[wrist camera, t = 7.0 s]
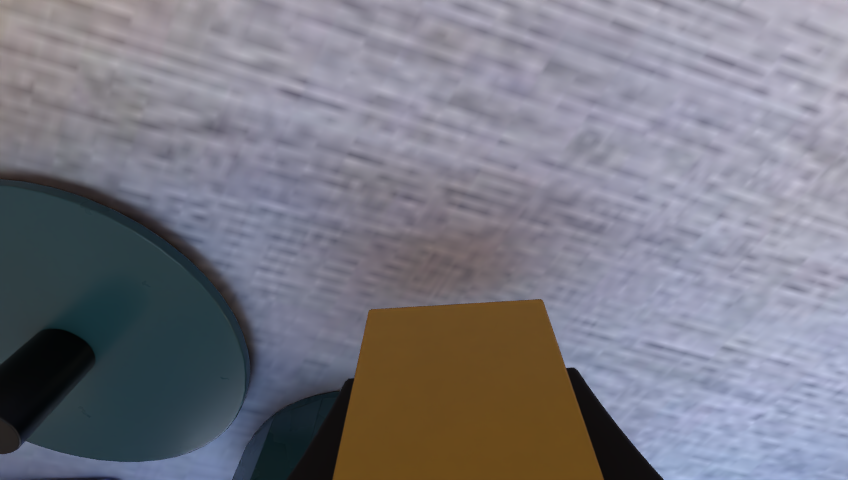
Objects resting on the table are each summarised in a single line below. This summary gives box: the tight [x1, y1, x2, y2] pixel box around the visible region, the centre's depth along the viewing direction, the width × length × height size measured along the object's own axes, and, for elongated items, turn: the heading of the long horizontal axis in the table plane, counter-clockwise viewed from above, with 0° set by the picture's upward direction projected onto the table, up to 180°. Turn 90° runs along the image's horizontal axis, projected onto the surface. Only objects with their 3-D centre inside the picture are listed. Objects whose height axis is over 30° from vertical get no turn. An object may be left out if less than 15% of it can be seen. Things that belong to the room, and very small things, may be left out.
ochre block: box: [333, 299, 604, 480], centre depth 10 cm, size 4×4×5 cm
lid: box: [0, 179, 250, 462], centre depth 17 cm, size 15×15×5 cm
